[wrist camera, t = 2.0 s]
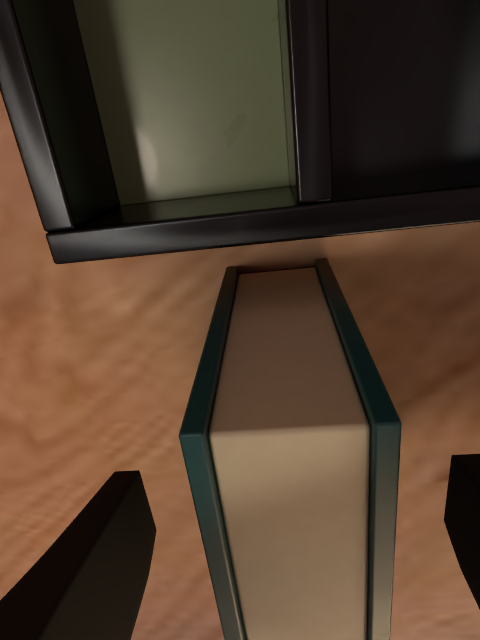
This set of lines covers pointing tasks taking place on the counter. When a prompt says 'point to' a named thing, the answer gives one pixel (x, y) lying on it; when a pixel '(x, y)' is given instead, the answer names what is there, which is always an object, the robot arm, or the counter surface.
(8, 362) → the counter surface
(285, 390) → the teal book
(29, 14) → the caddy
